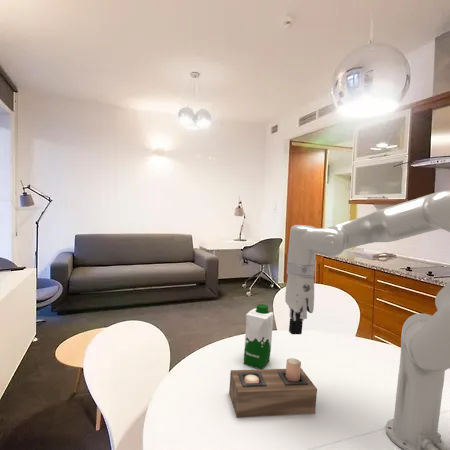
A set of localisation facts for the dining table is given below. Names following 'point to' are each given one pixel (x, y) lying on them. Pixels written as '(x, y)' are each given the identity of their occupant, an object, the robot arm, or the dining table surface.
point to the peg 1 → (251, 379)
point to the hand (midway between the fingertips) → (295, 333)
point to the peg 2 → (293, 370)
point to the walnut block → (271, 394)
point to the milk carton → (258, 336)
